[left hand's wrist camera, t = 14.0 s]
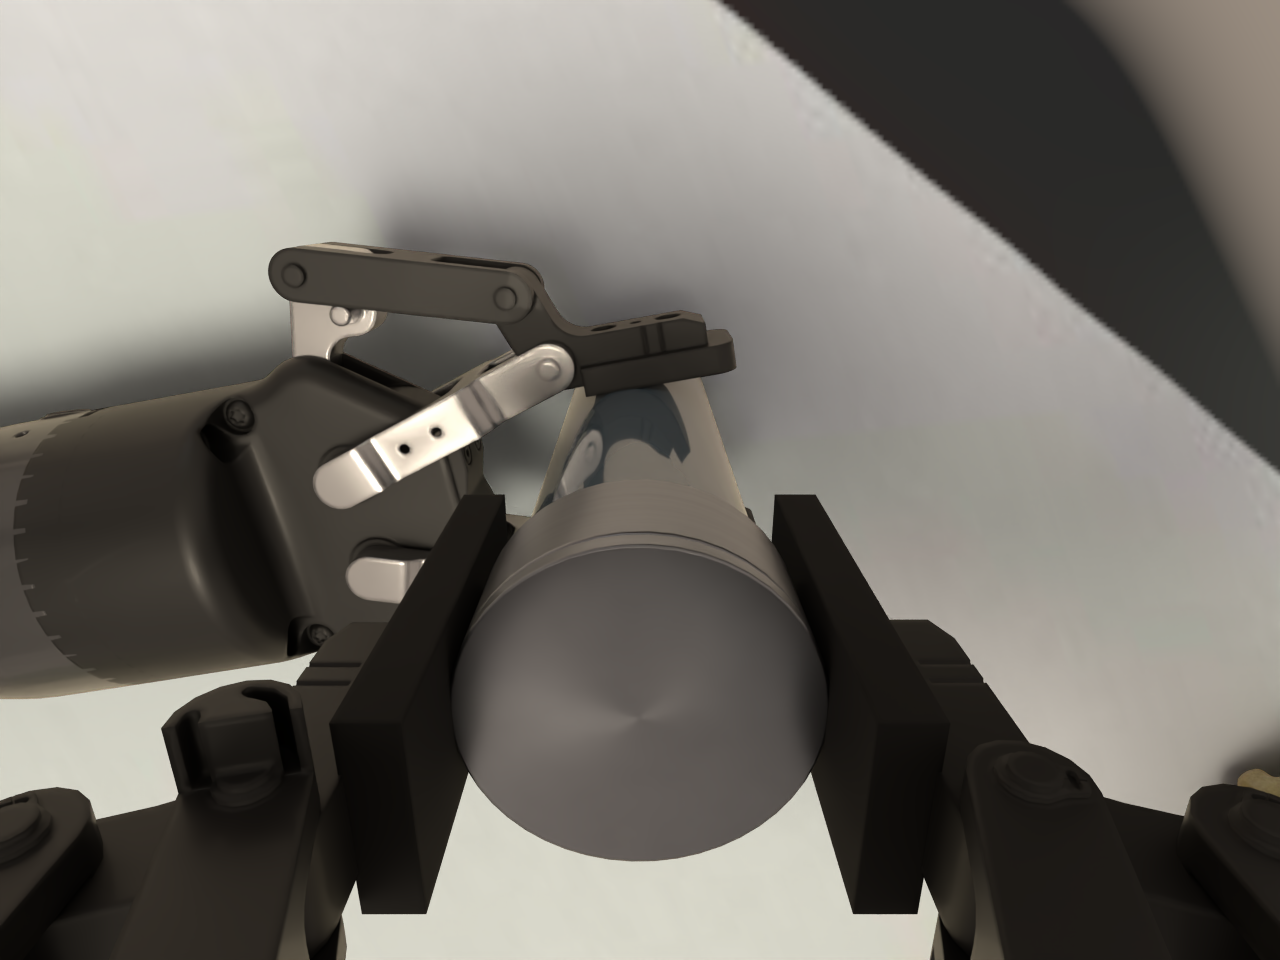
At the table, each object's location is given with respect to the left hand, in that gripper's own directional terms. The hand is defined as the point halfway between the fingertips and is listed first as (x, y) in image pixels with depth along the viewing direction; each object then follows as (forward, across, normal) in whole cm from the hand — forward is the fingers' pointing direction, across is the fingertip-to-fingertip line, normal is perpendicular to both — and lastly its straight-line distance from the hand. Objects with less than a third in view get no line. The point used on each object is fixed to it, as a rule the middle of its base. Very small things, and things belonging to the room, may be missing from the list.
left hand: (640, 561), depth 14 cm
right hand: (+6, -3, 0) cm, 6 cm away
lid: (-4, 0, 0) cm, 4 cm away
